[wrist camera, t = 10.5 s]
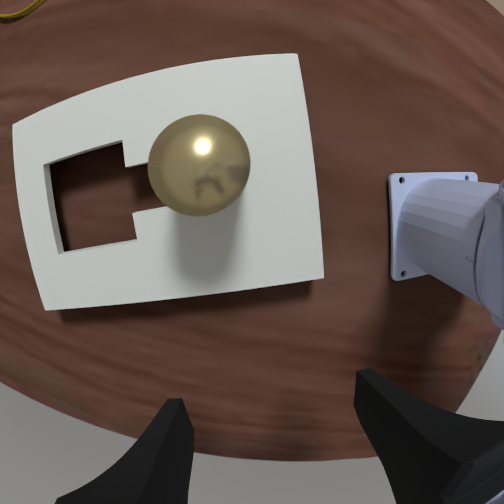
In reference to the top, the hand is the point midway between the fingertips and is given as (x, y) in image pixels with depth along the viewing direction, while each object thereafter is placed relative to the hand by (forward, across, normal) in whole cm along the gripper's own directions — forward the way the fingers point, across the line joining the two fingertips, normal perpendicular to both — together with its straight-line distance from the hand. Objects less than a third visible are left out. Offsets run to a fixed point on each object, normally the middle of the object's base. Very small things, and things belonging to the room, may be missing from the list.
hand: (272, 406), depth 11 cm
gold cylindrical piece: (+10, +1, -10) cm, 14 cm away
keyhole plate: (+10, +6, -9) cm, 15 cm away
